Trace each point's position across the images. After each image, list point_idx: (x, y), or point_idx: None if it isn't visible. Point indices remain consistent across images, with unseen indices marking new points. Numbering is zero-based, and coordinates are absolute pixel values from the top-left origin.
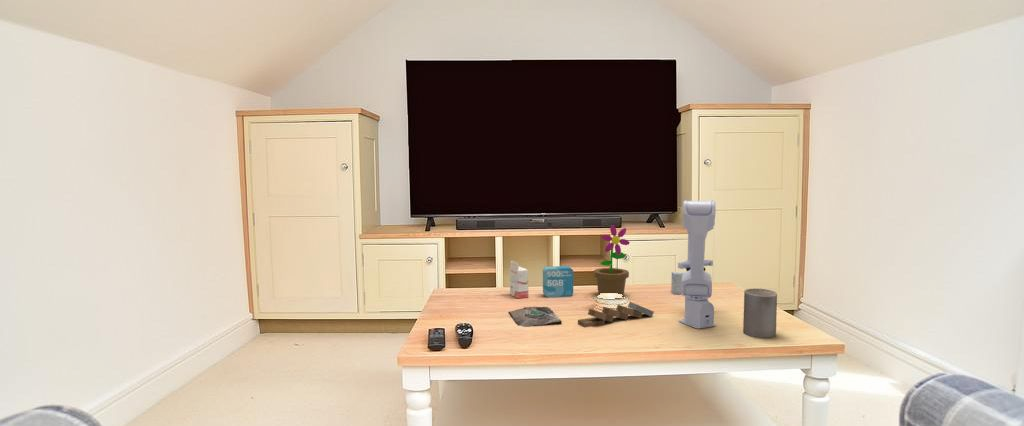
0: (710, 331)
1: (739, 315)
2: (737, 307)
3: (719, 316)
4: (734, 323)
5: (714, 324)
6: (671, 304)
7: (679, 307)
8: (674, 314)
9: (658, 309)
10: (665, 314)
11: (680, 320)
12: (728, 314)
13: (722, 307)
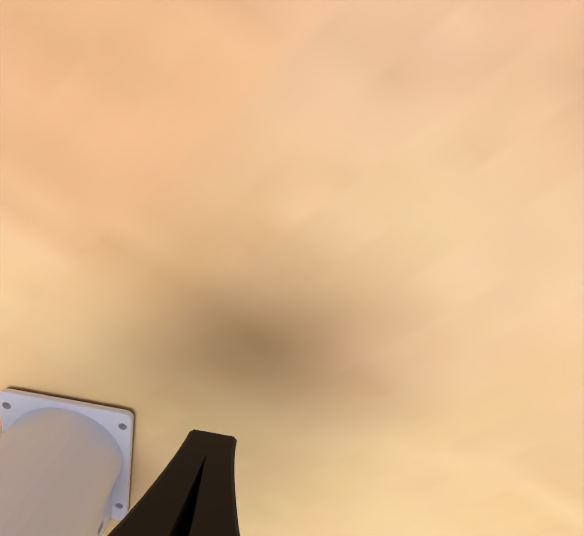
0: None
1: (390, 487)
2: (554, 408)
3: (286, 444)
4: (243, 530)
5: (119, 517)
6: (262, 78)
7: (245, 186)
8: (82, 282)
9: (57, 125)
10: (25, 248)
11: (2, 402)
12: (362, 450)
13: (485, 358)
